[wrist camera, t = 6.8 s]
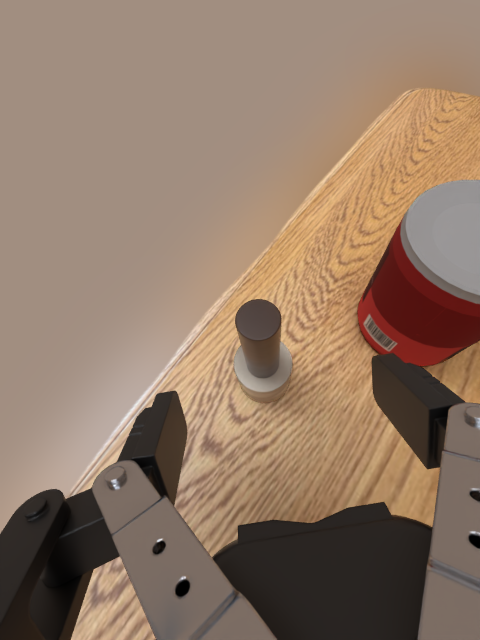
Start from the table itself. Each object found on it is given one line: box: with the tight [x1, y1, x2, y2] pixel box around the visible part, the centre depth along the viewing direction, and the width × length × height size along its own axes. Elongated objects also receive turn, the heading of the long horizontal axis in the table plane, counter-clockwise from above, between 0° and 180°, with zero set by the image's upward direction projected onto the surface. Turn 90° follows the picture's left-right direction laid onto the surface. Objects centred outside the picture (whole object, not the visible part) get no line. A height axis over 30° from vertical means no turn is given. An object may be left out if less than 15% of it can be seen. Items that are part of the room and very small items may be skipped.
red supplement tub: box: [358, 180, 480, 366], centre depth 20 cm, size 8×8×11 cm
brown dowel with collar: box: [234, 299, 293, 403], centre depth 20 cm, size 4×4×11 cm
